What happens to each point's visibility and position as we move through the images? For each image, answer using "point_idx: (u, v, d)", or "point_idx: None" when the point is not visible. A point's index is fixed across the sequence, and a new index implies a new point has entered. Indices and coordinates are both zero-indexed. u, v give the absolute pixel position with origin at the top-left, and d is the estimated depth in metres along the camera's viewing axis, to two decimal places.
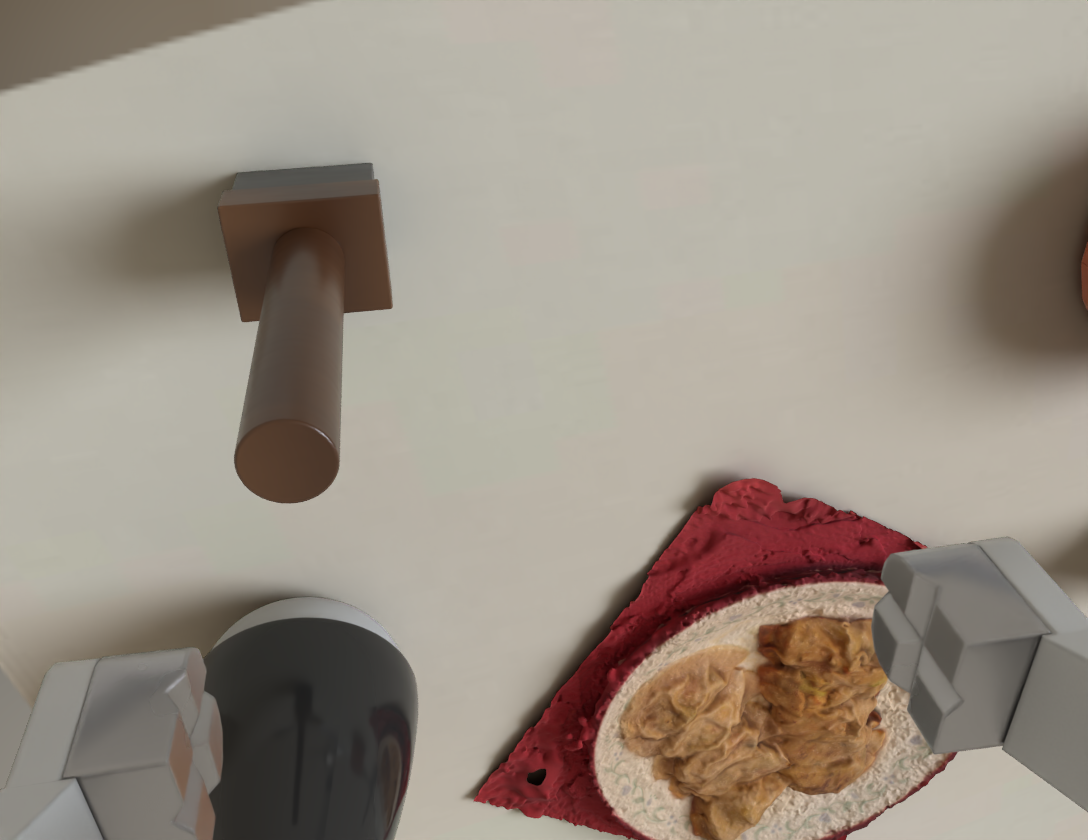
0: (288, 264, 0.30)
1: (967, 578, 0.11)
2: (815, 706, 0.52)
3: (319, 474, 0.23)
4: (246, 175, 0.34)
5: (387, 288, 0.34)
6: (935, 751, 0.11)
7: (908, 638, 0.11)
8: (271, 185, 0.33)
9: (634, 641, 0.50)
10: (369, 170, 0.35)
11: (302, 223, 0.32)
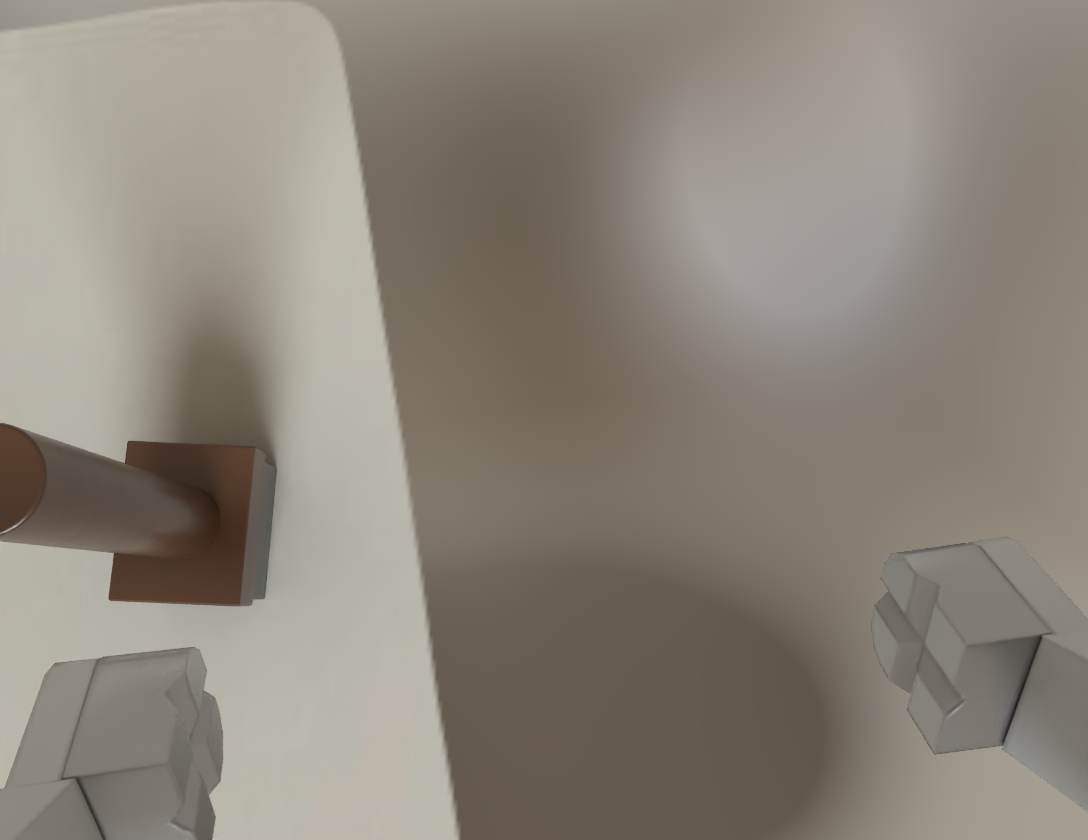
0: (189, 506, 0.29)
1: (967, 578, 0.11)
2: None
3: None
4: (273, 476, 0.36)
5: (133, 598, 0.31)
6: (935, 751, 0.11)
7: (908, 638, 0.11)
8: (262, 499, 0.34)
9: None
10: (258, 595, 0.34)
11: (223, 524, 0.32)
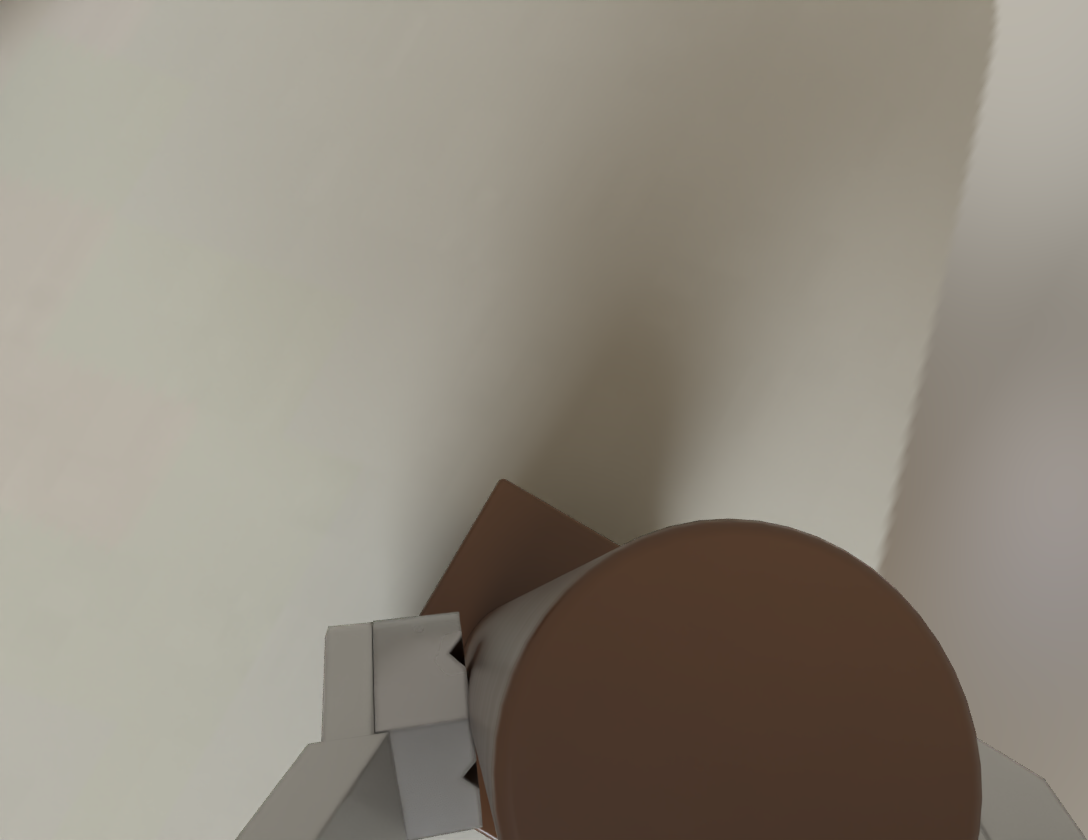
0: None
1: None
2: None
3: None
4: None
5: None
6: None
7: None
8: None
9: None
10: None
11: None
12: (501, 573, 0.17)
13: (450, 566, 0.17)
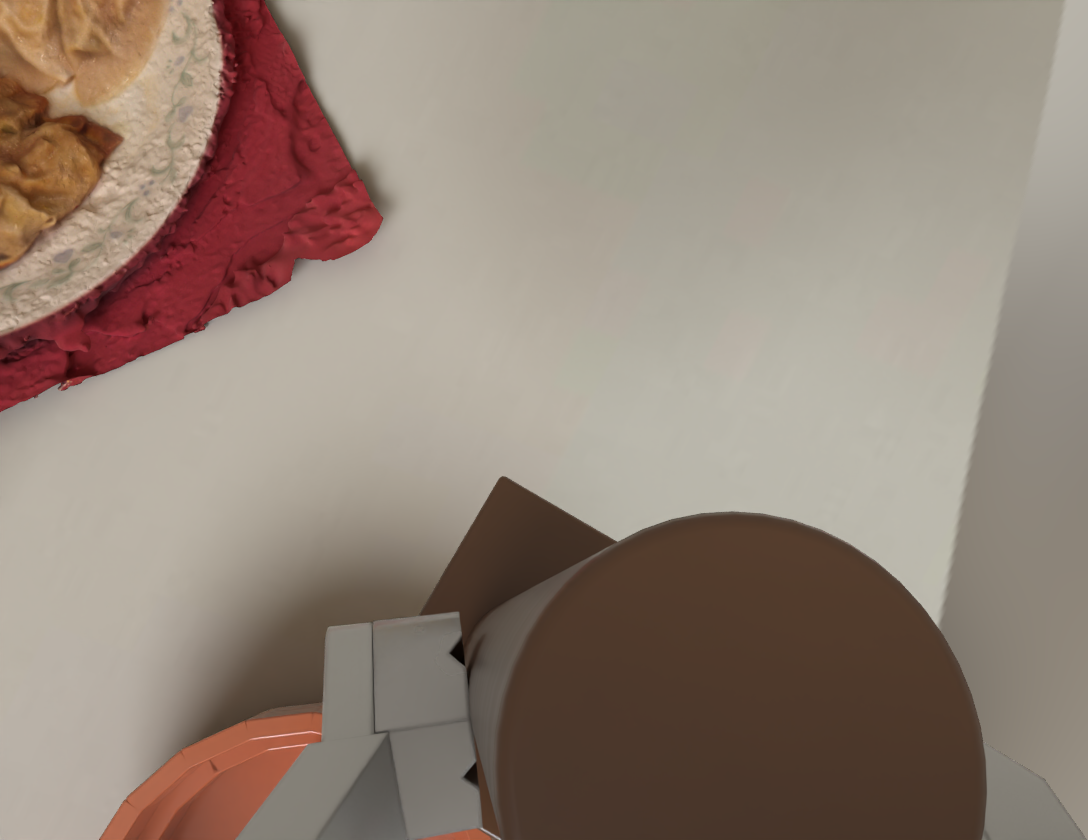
0: None
1: None
2: None
3: None
4: None
5: None
6: None
7: None
8: None
9: None
10: None
11: None
12: (502, 571, 0.17)
13: (450, 564, 0.16)
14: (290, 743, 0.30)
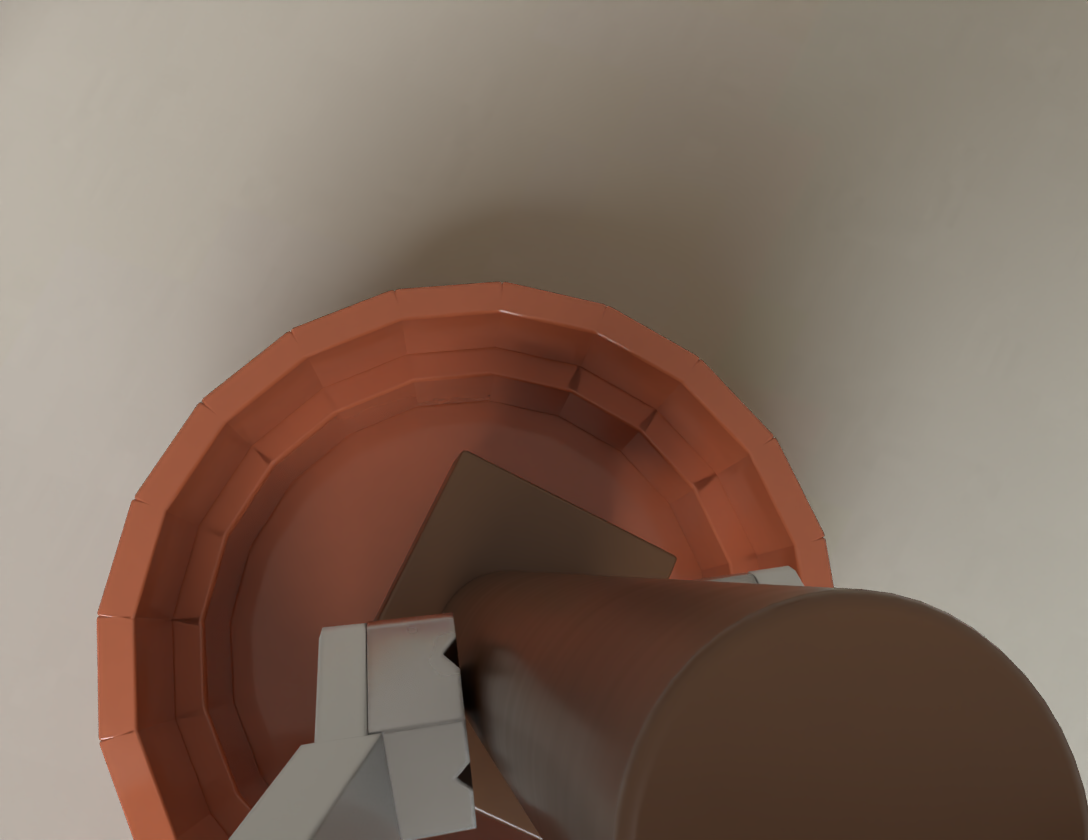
0: None
1: None
2: None
3: None
4: None
5: None
6: None
7: None
8: None
9: None
10: None
11: None
12: (469, 547, 0.16)
13: (417, 543, 0.16)
14: (449, 371, 0.19)
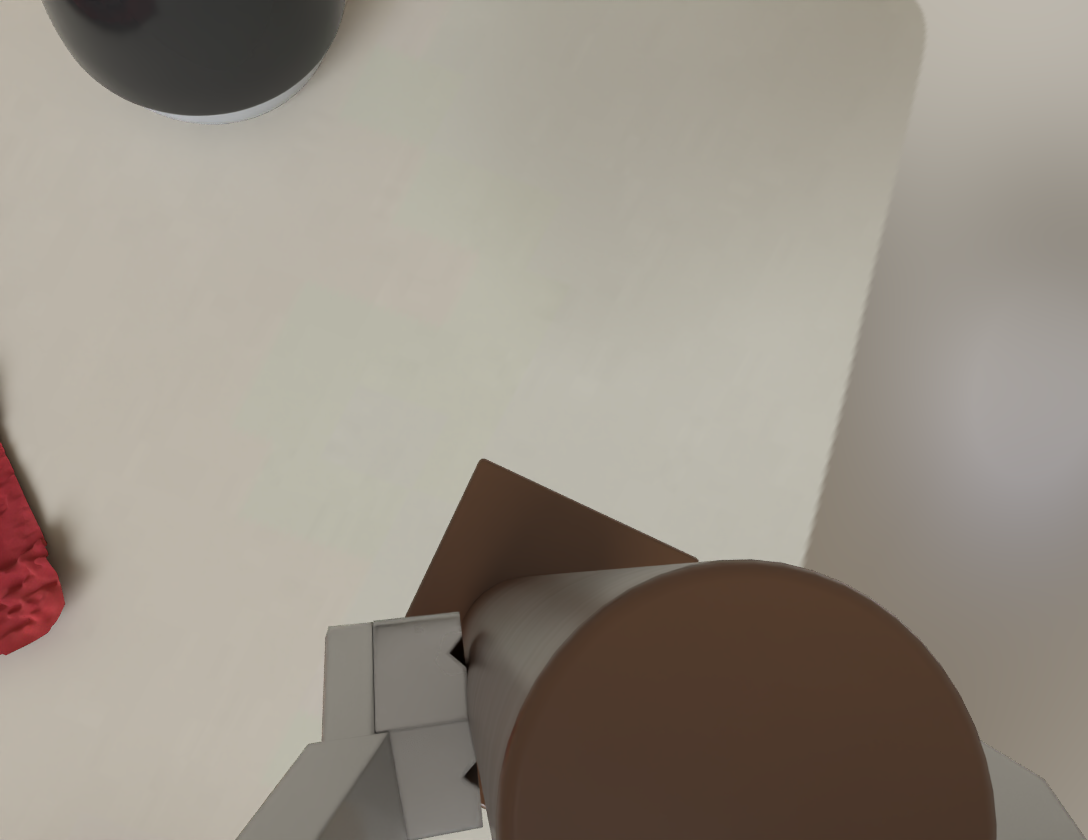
0: None
1: None
2: None
3: None
4: None
5: None
6: None
7: None
8: None
9: None
10: None
11: None
12: (489, 554, 0.16)
13: (438, 551, 0.16)
14: None
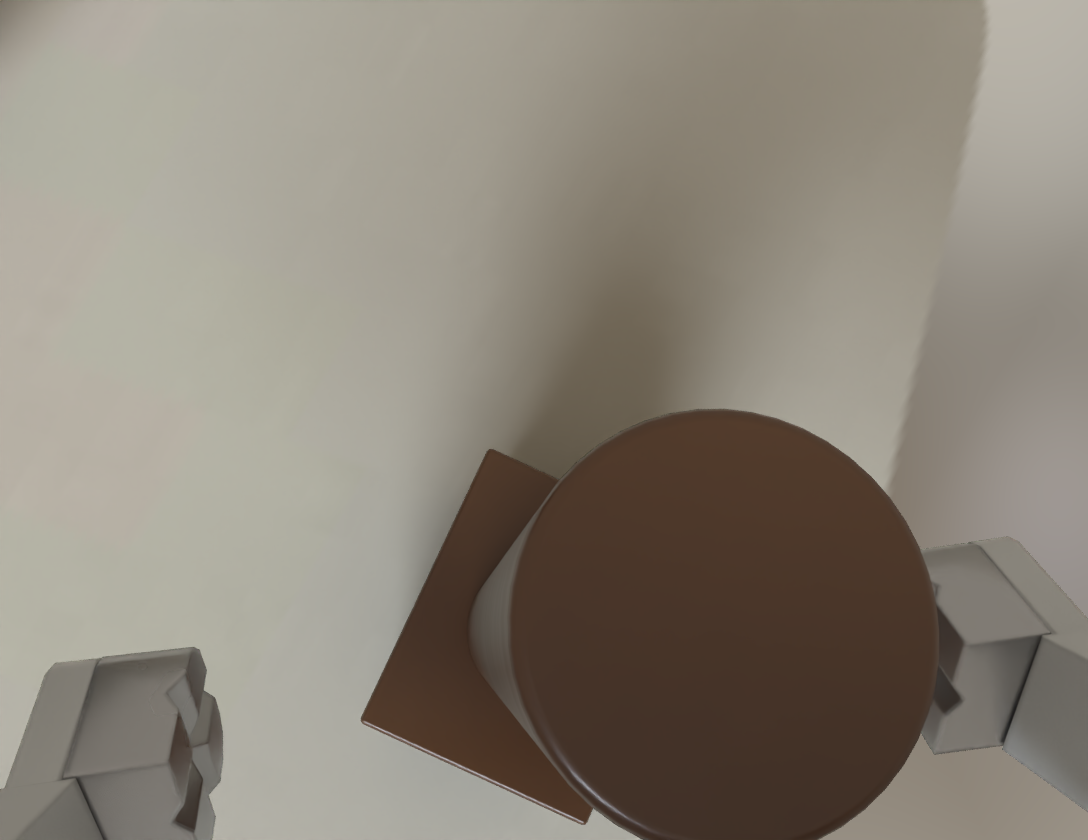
0: None
1: (967, 578, 0.11)
2: None
3: (614, 714, 0.05)
4: None
5: (405, 737, 0.16)
6: (936, 751, 0.11)
7: None
8: None
9: None
10: None
11: None
12: (498, 539, 0.17)
13: (448, 537, 0.17)
14: None
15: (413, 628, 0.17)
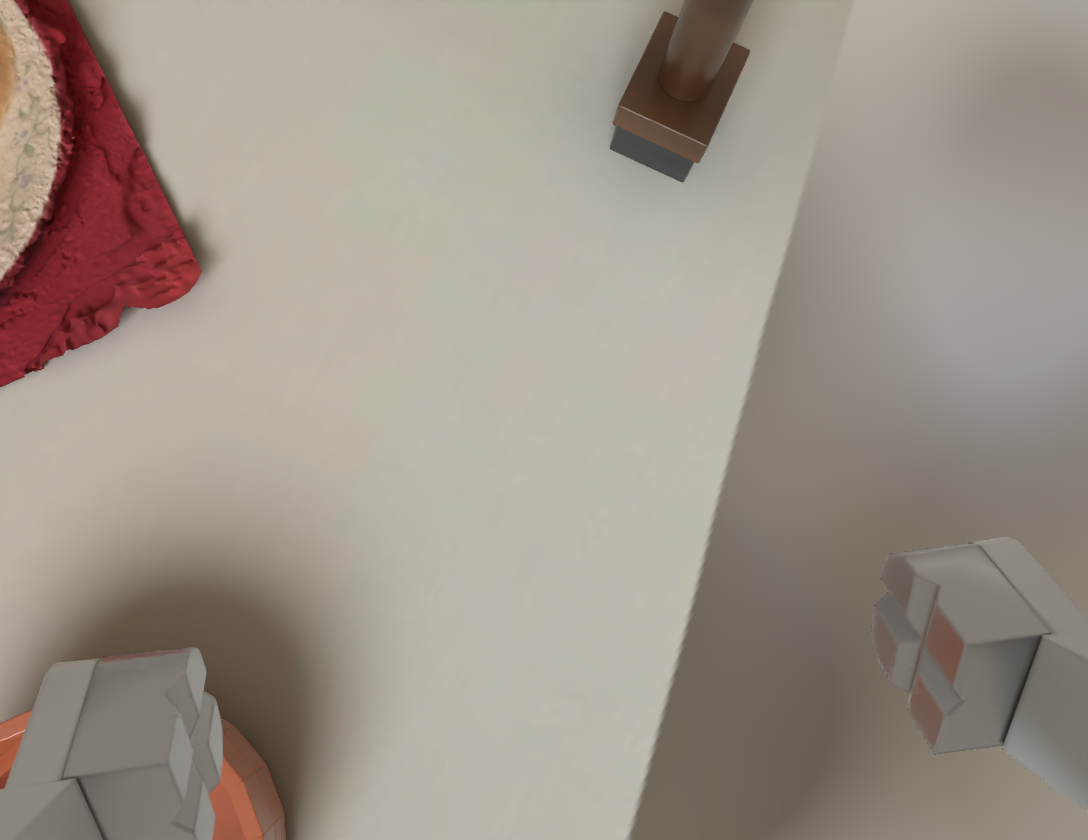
0: None
1: (967, 578, 0.11)
2: None
3: None
4: None
5: (636, 111, 0.41)
6: (936, 751, 0.11)
7: (908, 638, 0.11)
8: None
9: None
10: (688, 172, 0.44)
11: (713, 89, 0.42)
12: (669, 44, 0.42)
13: (649, 42, 0.42)
14: None
15: (637, 74, 0.42)
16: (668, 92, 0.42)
